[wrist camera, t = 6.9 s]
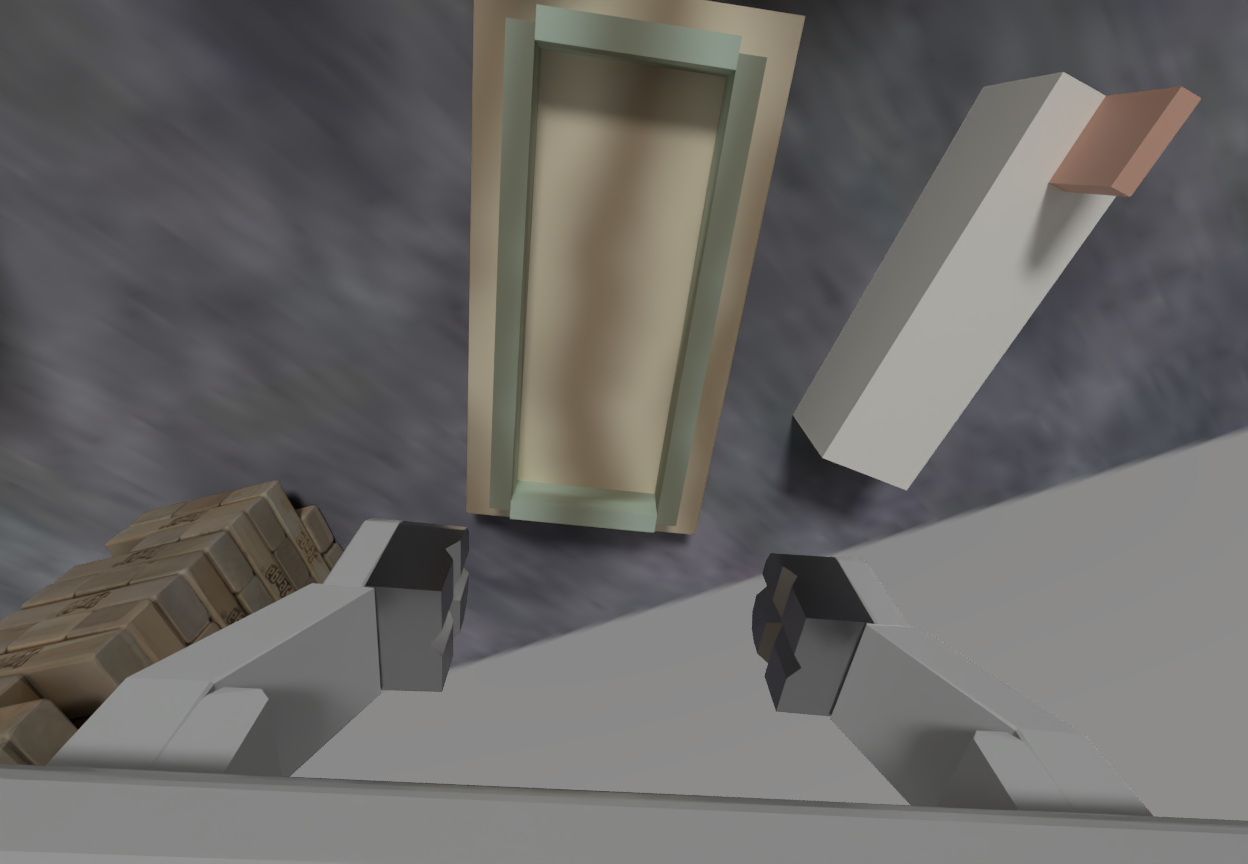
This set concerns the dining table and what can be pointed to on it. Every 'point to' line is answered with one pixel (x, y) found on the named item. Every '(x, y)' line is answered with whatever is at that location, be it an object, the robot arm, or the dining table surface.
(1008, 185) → the white bar with tab
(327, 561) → the block tower
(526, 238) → the tray
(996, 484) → the dining table surface
